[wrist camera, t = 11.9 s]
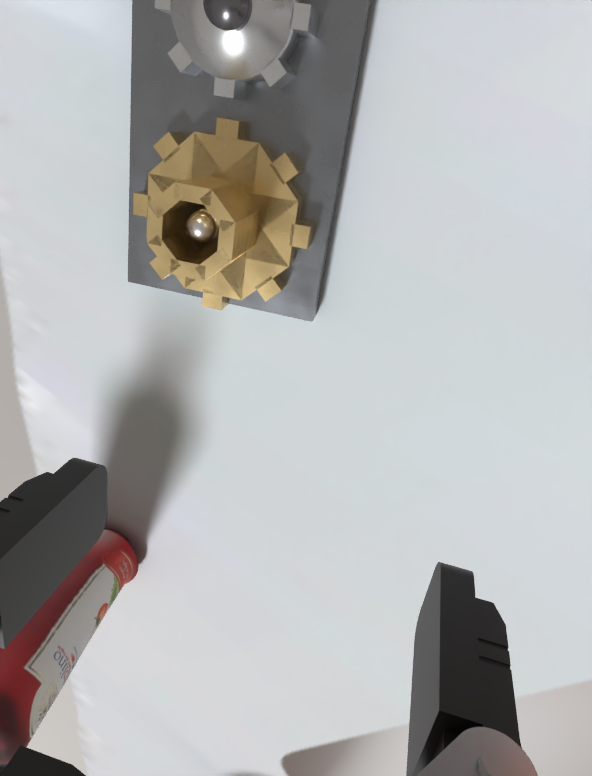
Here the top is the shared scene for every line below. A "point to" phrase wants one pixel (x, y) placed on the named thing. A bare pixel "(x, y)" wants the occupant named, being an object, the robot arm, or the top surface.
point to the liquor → (58, 639)
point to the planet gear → (224, 213)
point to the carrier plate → (248, 110)
